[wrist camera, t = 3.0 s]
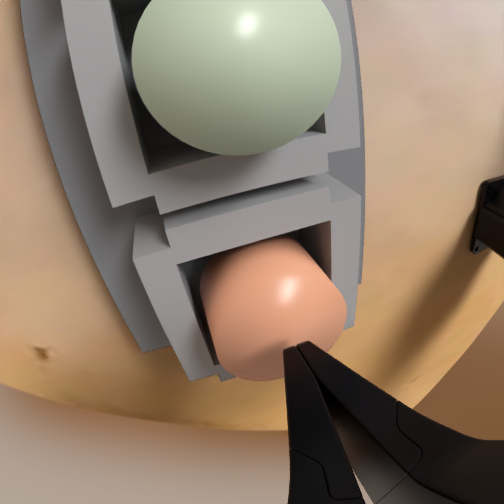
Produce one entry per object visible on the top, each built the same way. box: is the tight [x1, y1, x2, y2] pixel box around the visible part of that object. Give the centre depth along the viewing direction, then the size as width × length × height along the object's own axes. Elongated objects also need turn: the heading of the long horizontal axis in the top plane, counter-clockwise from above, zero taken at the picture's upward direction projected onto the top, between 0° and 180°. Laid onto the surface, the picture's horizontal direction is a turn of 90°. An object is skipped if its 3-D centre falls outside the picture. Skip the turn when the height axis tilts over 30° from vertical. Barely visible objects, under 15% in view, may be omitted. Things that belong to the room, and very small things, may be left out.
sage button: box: [132, 0, 341, 156], centre depth 7 cm, size 4×4×3 cm
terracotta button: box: [200, 234, 347, 381], centre depth 11 cm, size 4×4×3 cm
